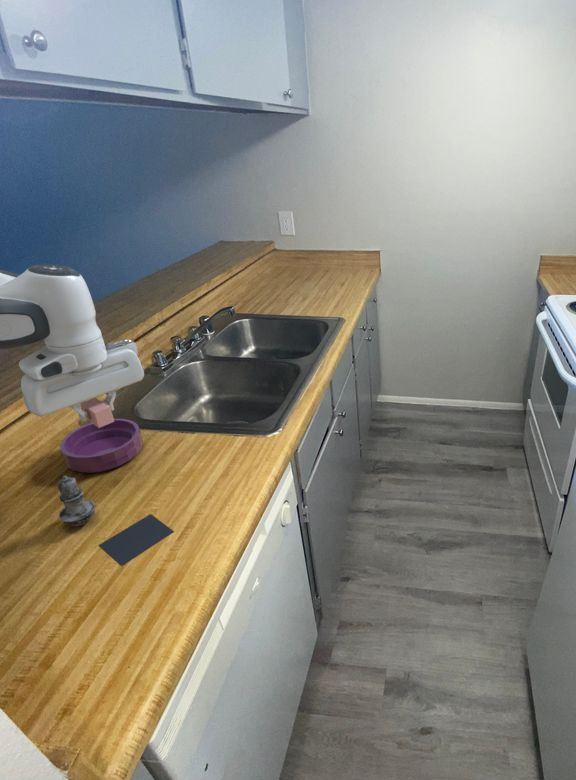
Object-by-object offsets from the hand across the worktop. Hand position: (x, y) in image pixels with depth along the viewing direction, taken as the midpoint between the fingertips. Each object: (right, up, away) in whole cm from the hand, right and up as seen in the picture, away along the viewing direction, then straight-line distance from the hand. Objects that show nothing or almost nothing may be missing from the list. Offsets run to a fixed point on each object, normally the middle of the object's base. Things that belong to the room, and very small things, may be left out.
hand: (97, 415), depth 94 cm
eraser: (0, -1, 0) cm, 1 cm away
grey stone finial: (-1, -21, -3) cm, 21 cm away
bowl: (-8, -10, +16) cm, 21 cm away
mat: (+12, -23, -6) cm, 27 cm away
